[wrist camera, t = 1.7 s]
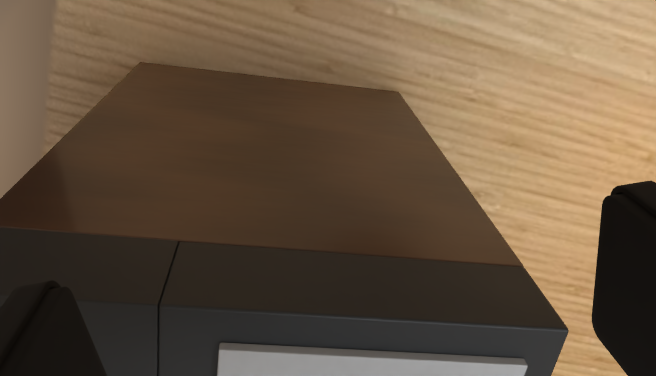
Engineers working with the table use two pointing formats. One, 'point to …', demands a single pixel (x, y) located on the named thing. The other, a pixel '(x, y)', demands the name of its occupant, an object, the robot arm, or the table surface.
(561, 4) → the table surface
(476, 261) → the brown box
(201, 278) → the scale
